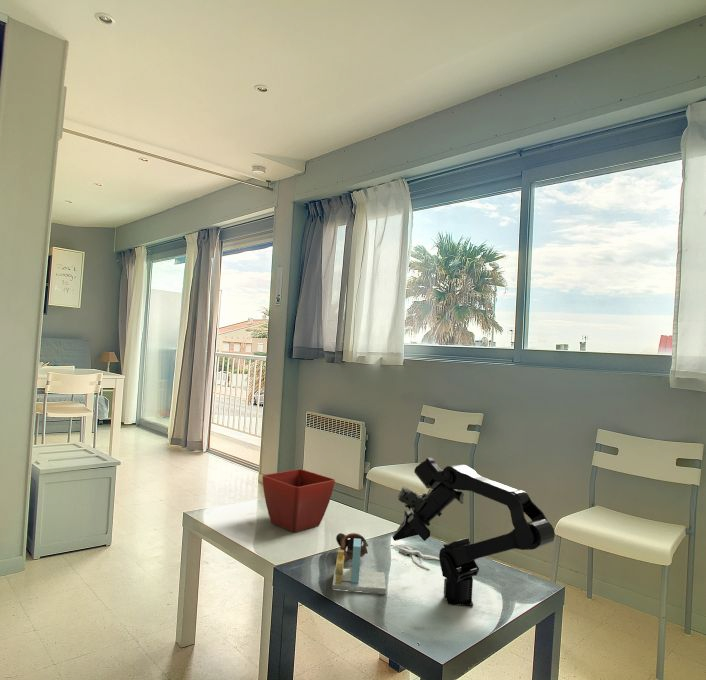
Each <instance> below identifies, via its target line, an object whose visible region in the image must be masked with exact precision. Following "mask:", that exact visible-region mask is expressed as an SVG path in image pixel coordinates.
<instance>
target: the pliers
mask: <svg viewBox="0 0 706 680" xmlns="http://www.w3.org/2000/svg"><path fill="white" fill-rule="evenodd" d="M398 549H399V551H398V552H399V553H401V554H404V555H405V556H407V555H409V557H410V558H411V559H412V562H413V563H414V564H415V565H417V566H418V567H419V568H422V569H423V570H426V571H430V570H431V569H430V568H429V567H427V566H425V565H424V564H423V563H422V562H423V560H428V561H429V560H431V561H432V560H433V561H434V560H435V561H439V562H440V560H439V556H438V557H437V556H434V555H430V554H423V553H422V552H421V551H419V550H418V549H414V548H412V547H410V546H407V545H405V546H404V547H401V546H400V547H398ZM418 557H420V558H419V560H420V561H419V560H418Z"/></svg>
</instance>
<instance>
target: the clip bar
mask: <svg viewBox="0 0 706 680" xmlns="http://www.w3.org/2000/svg"><path fill="white" fill-rule="evenodd" d="M360 553H361V539H356V538H354V544H353V560H352V561H351V562H352V563H351V564H352V565H351V568H343V575H342V581H351V582H353V583H359V571H360V568H361V557H360Z"/></svg>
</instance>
